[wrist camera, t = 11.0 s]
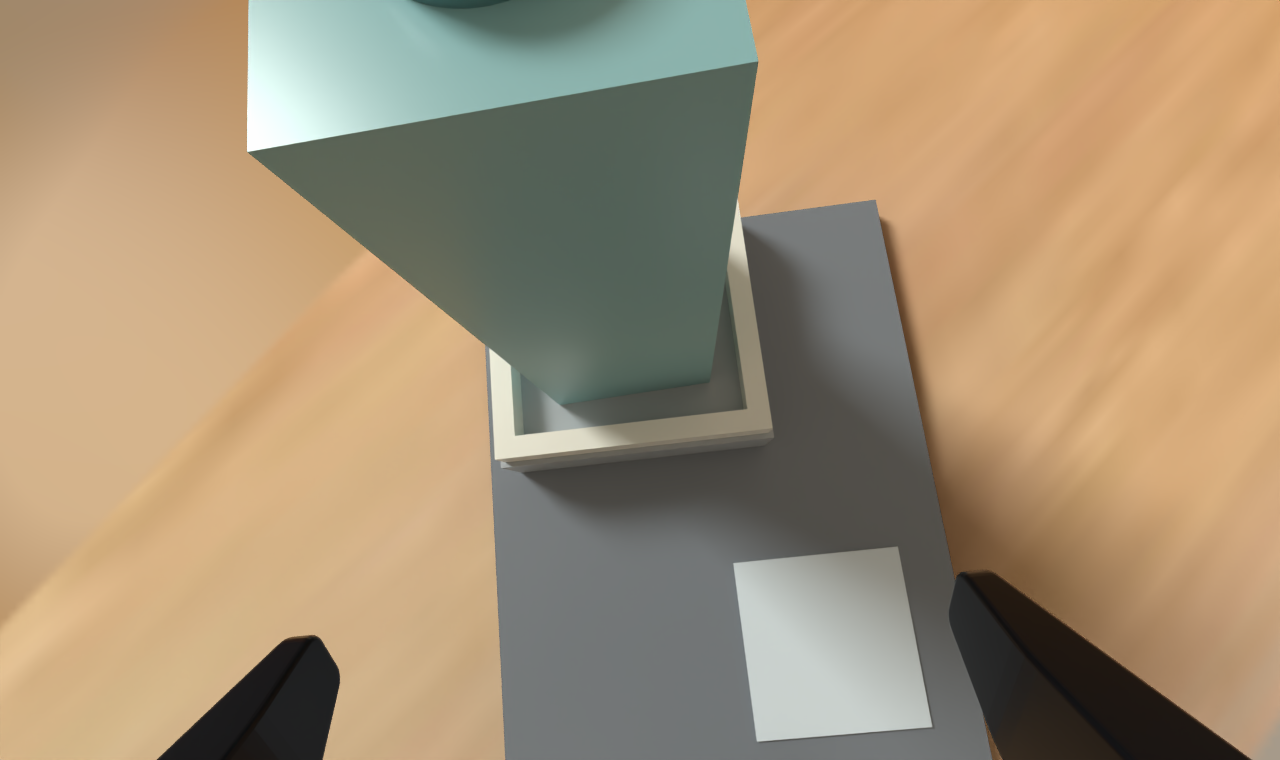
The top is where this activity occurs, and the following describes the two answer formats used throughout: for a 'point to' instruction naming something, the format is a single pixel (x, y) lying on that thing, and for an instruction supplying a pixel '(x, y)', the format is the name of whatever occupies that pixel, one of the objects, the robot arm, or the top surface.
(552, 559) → the grey board with socket
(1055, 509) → the top surface
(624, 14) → the pillar
